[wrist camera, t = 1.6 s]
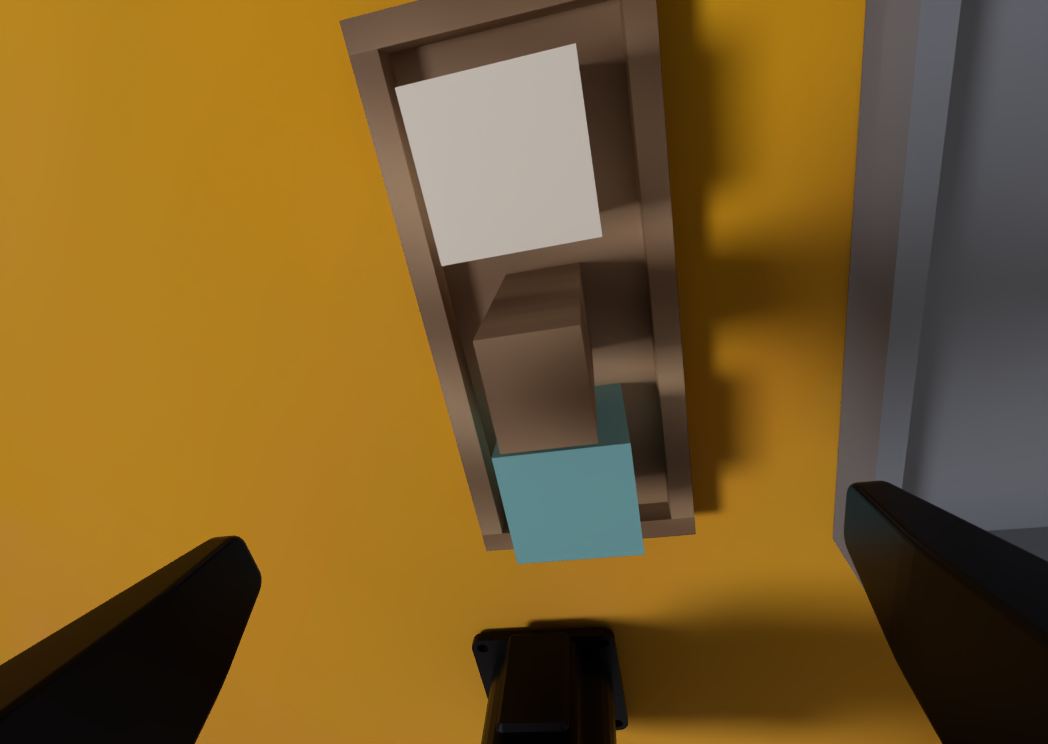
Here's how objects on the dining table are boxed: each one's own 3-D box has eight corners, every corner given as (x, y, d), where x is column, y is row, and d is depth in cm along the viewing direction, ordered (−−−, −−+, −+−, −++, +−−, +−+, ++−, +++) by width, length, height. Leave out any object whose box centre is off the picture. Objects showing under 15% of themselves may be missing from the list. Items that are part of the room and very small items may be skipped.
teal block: (632, 478, 20) (644, 554, 16) (528, 488, 20) (517, 563, 17) (620, 383, 18) (630, 442, 15) (508, 397, 19) (491, 458, 15)
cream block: (596, 213, 16) (602, 236, 12) (471, 237, 17) (441, 266, 13) (576, 65, 14) (576, 42, 11) (438, 98, 15) (394, 87, 12)
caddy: (685, 500, 21) (731, 656, 15) (494, 517, 23) (461, 667, 16) (642, -36, 14) (694, -170, 8) (367, 34, 16) (222, -35, 9)
